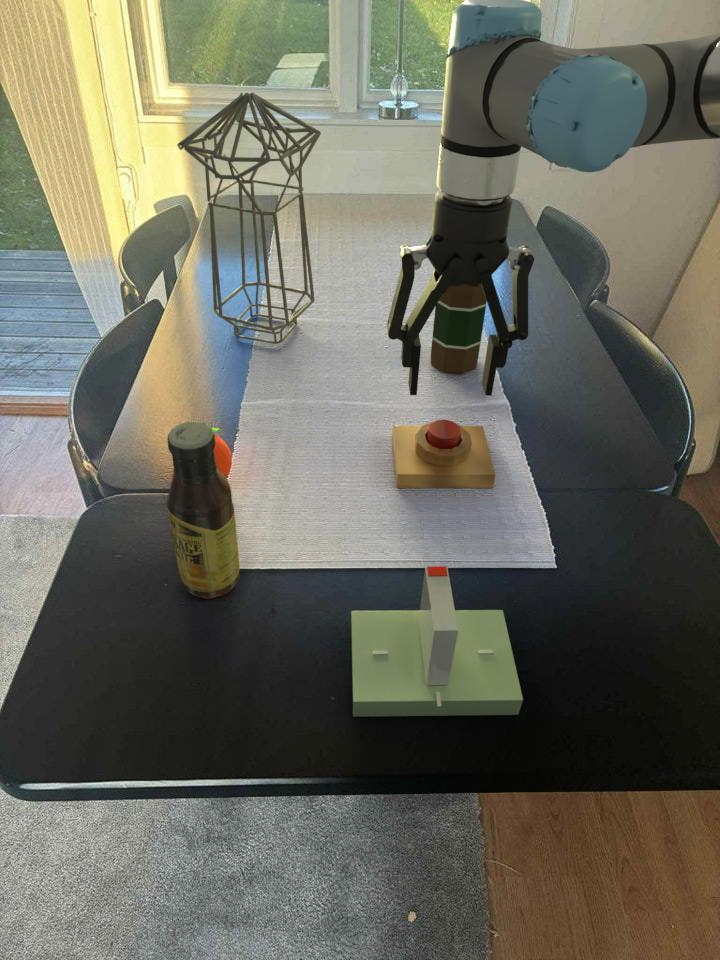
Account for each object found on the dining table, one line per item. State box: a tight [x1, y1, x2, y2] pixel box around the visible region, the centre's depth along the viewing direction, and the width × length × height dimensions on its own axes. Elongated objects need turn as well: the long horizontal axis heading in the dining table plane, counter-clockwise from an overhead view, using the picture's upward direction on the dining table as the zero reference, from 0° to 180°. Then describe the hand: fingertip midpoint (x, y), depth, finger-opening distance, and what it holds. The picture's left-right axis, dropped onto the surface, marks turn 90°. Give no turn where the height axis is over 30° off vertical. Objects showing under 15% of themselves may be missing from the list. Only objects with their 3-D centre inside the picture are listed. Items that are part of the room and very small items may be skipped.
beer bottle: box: [430, 284, 487, 375], centre depth 101 cm, size 8×8×24 cm
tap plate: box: [350, 609, 524, 718], centre depth 66 cm, size 15×11×3 cm
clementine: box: [172, 427, 233, 478], centre depth 84 cm, size 8×7×7 cm
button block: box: [391, 421, 496, 489], centre depth 89 cm, size 12×10×4 cm
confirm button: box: [427, 419, 461, 449], centre depth 87 cm, size 4×4×2 cm
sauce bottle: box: [165, 420, 241, 600], centre depth 68 cm, size 7×6×20 cm
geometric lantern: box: [176, 91, 322, 345], centre depth 103 cm, size 16×16×35 cm
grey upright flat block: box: [418, 565, 458, 685], centre depth 62 cm, size 7×2×8 cm, turn 2°
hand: (449, 388), depth 83 cm, fingers open, 8 cm apart
